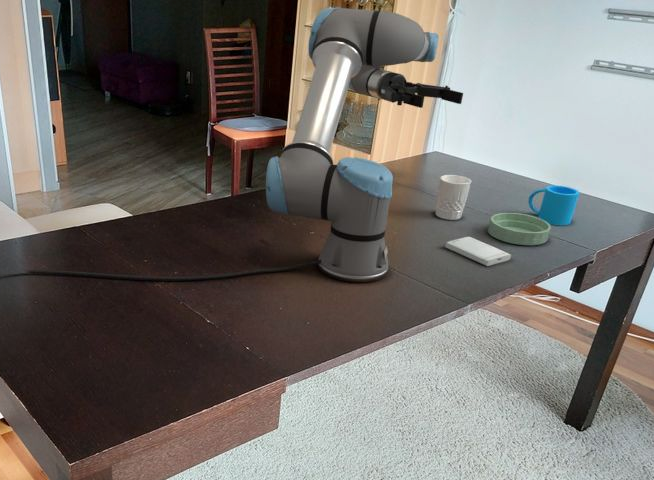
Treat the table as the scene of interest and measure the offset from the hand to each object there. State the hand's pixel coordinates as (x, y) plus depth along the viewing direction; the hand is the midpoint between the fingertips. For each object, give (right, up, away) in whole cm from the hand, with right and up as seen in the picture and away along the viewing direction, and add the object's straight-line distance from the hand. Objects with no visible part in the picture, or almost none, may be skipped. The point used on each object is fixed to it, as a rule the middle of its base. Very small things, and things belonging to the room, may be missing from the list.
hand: (442, 100), depth 175 cm
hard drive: (+3, -42, -15) cm, 45 cm away
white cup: (+4, -29, +7) cm, 30 cm away
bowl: (+18, -36, -4) cm, 40 cm away
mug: (+31, -29, +8) cm, 43 cm away
